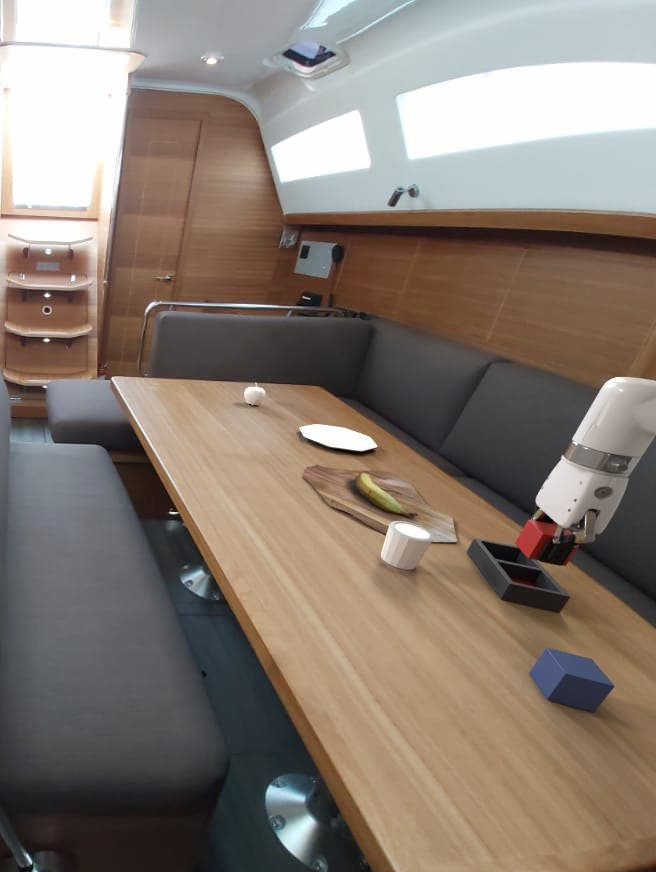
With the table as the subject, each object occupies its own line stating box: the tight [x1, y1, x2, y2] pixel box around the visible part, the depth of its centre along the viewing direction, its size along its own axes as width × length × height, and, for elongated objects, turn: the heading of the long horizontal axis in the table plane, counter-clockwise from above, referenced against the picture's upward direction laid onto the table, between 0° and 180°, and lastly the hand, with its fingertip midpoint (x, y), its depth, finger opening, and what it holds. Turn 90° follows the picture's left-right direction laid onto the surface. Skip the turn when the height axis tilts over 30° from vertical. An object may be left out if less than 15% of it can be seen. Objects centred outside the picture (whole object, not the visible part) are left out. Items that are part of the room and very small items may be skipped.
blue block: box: [528, 647, 616, 713], centre depth 68 cm, size 5×5×5 cm
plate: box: [298, 423, 378, 453], centre depth 151 cm, size 20×20×2 cm
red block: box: [514, 519, 580, 567], centre depth 84 cm, size 5×5×5 cm
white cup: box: [380, 521, 434, 571], centre depth 94 cm, size 7×7×7 cm
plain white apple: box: [243, 382, 267, 406], centre depth 180 cm, size 7×7×8 cm
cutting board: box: [302, 464, 458, 543], centre depth 117 cm, size 35×27×4 cm
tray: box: [466, 537, 571, 613], centre depth 91 cm, size 8×15×4 cm, turn 158°
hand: (540, 552), depth 85 cm, fingers closed on red block, 5 cm apart
